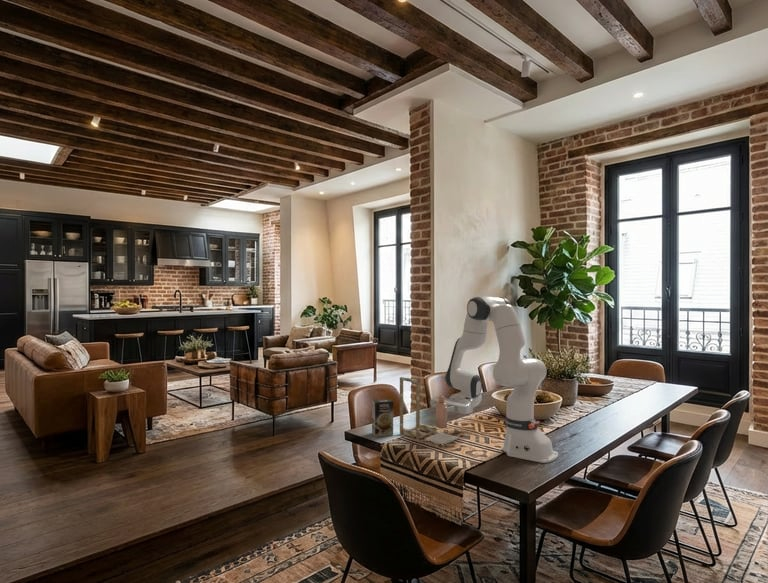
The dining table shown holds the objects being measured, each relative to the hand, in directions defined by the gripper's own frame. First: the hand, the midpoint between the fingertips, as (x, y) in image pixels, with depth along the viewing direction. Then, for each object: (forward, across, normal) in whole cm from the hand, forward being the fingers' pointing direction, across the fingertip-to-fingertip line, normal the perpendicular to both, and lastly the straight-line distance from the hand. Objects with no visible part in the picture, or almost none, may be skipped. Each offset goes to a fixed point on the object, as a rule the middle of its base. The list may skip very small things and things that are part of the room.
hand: (440, 408), depth 212 cm
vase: (-1, 0, +8) cm, 9 cm away
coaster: (-1, 0, +14) cm, 14 cm away
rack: (-1, -13, +14) cm, 20 cm away
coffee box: (+12, -25, +15) cm, 31 cm away
